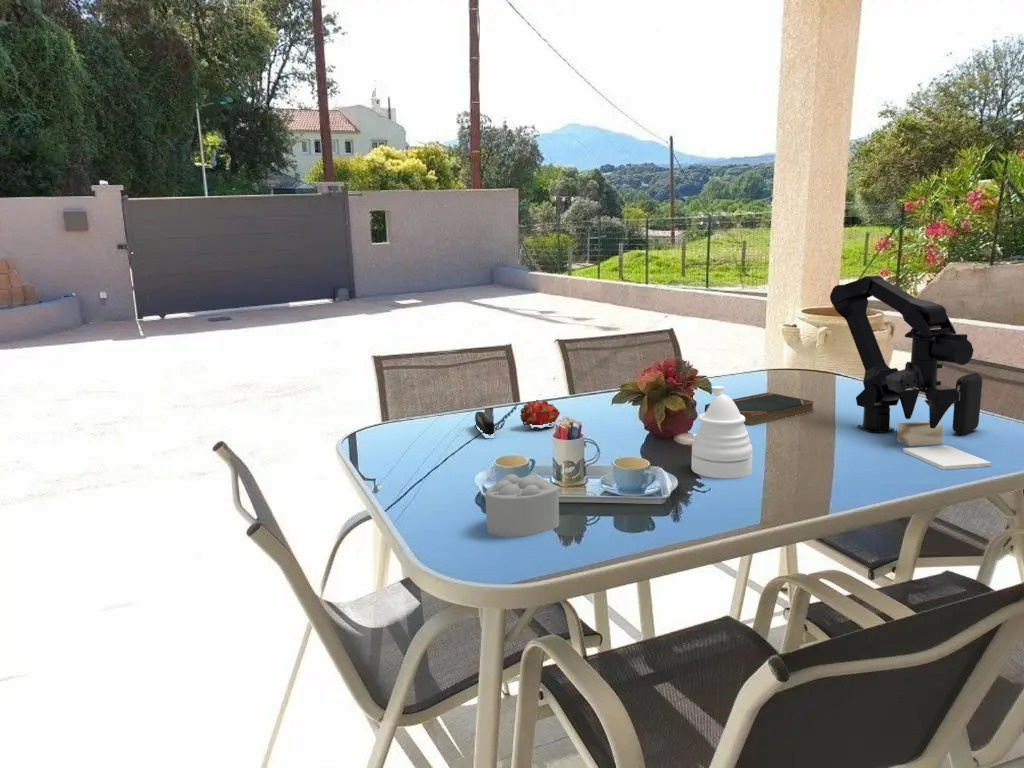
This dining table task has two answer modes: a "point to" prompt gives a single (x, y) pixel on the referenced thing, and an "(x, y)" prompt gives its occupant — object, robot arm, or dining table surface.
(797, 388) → the dining table surface
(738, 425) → the honey pot
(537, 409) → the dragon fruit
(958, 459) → the mat
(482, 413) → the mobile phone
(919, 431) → the tan rectangular block
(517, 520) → the lumpy-topped squat cylinder
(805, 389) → the dining table surface
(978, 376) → the carrying case or bag
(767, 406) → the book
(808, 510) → the dining table surface
